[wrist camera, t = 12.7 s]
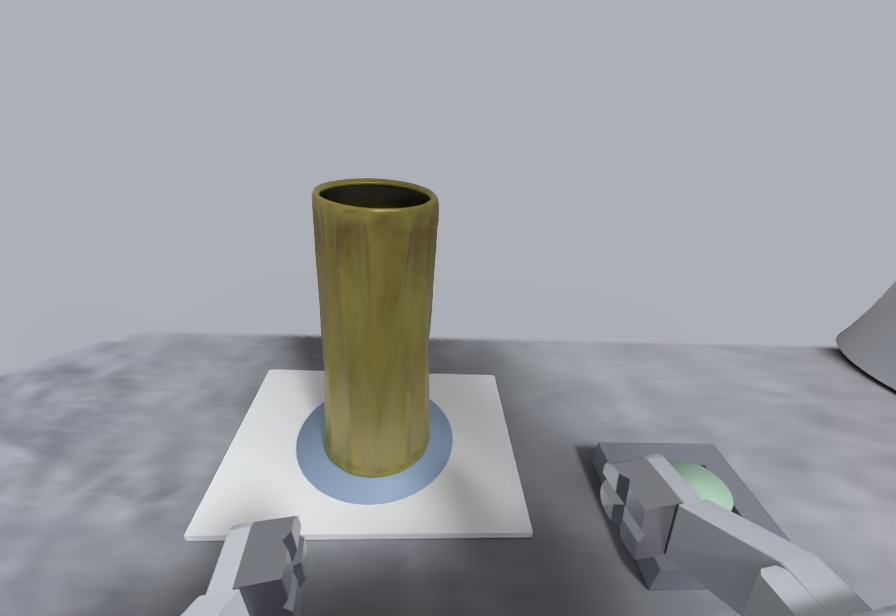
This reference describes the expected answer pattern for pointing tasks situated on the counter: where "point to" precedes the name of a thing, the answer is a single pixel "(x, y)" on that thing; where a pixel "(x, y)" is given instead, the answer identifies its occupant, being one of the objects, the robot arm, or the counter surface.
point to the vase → (375, 320)
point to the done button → (704, 483)
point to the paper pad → (361, 498)
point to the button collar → (745, 504)
